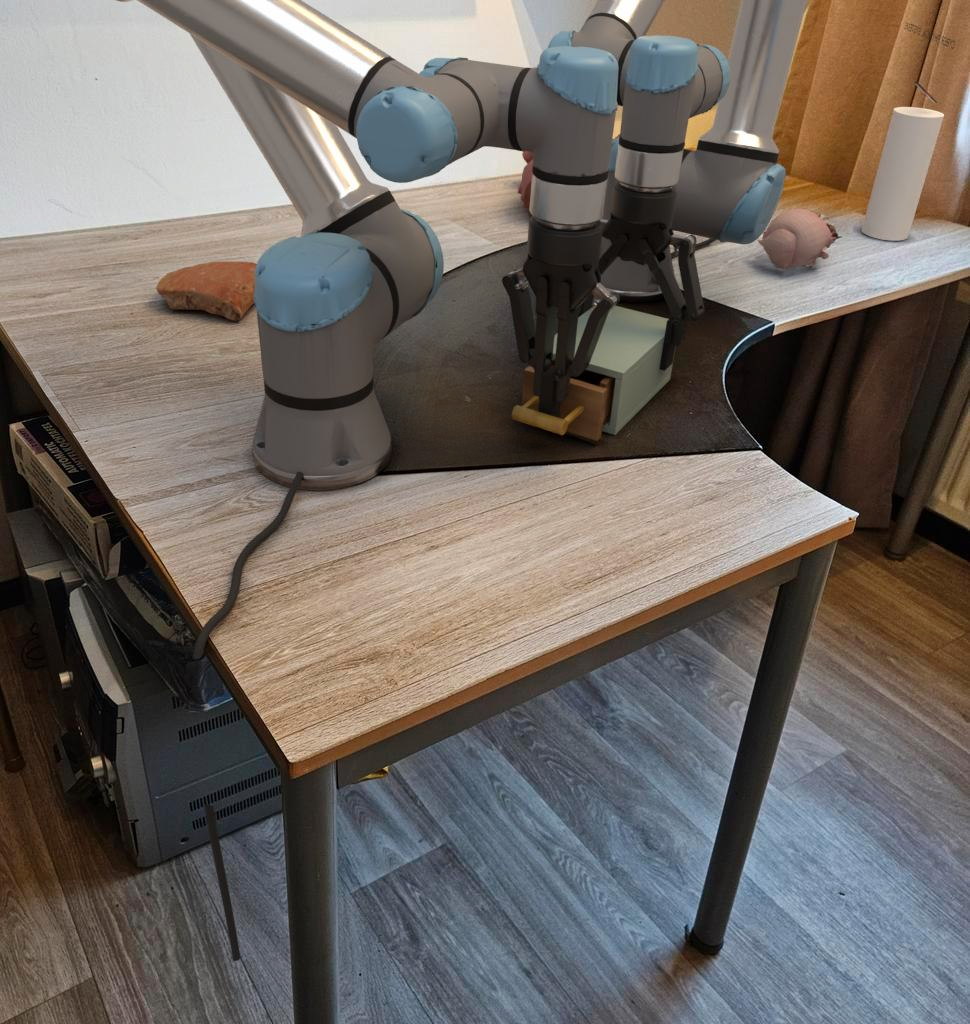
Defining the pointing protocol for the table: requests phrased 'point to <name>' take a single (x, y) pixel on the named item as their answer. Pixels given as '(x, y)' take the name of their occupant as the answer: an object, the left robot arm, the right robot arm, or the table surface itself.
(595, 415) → the drawer
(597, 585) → the table surface
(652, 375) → the cabinet
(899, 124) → the tall white tube
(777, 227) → the toy
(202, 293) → the ceramic shard
